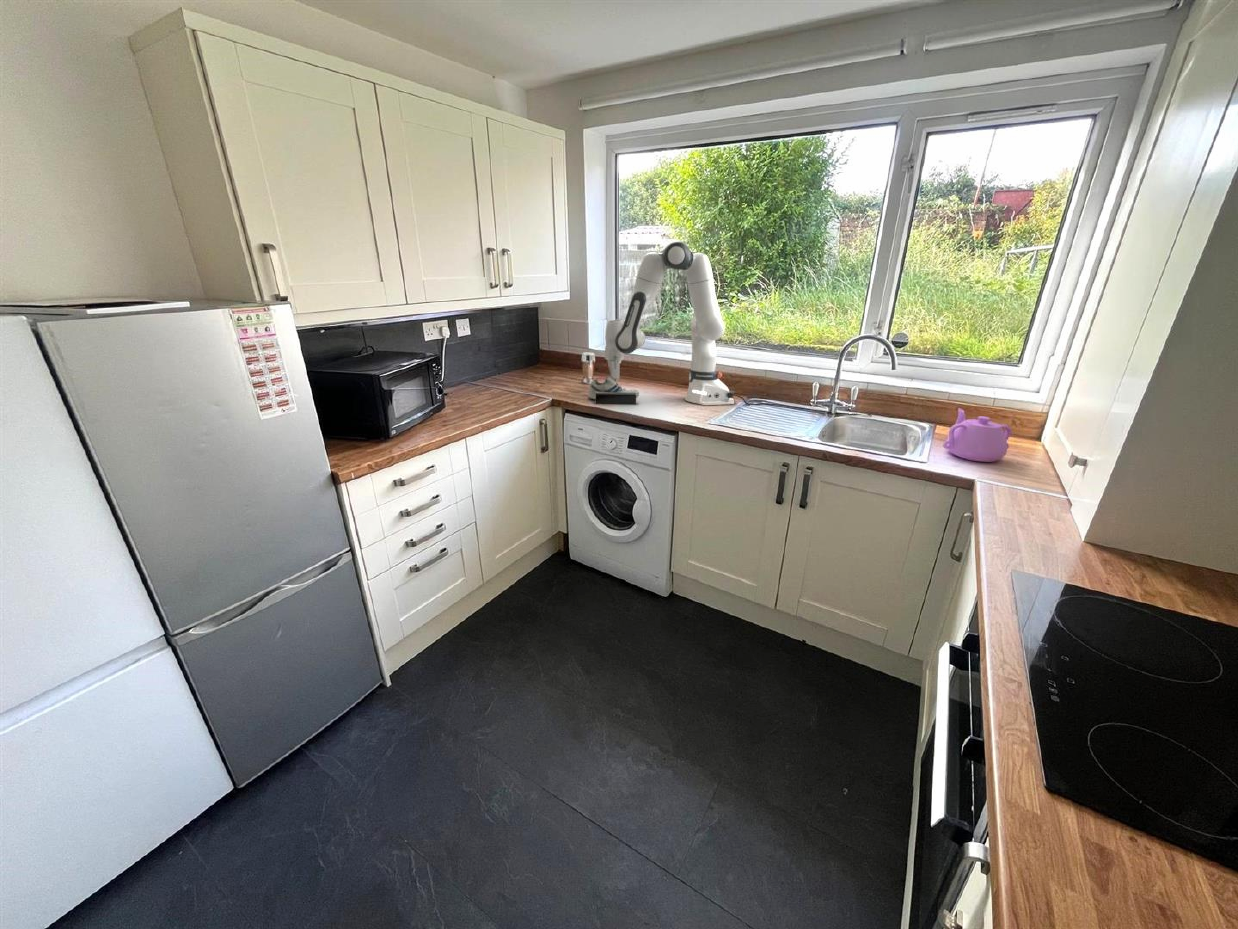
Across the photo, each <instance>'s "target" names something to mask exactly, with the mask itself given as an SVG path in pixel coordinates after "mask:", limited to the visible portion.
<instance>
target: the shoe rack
mask: <svg viewBox="0 0 1238 929" xmlns="http://www.w3.org/2000/svg"><path fill="white" fill-rule="evenodd" d="M595 404H596V405H637V398H636V392H596V400H595Z"/></svg>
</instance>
